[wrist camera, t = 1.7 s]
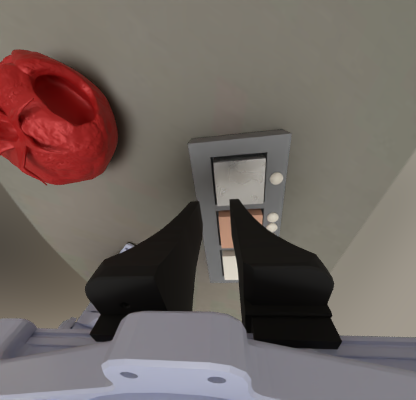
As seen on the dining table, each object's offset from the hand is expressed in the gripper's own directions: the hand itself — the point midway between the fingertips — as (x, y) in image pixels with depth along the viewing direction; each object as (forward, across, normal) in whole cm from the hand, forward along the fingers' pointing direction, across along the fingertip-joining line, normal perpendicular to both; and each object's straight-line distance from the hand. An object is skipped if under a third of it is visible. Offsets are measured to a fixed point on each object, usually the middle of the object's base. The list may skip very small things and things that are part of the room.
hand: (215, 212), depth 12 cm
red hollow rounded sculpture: (+9, +13, -6) cm, 17 cm away
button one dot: (+7, -2, 0) cm, 7 cm away
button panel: (+8, -2, +6) cm, 11 cm away
